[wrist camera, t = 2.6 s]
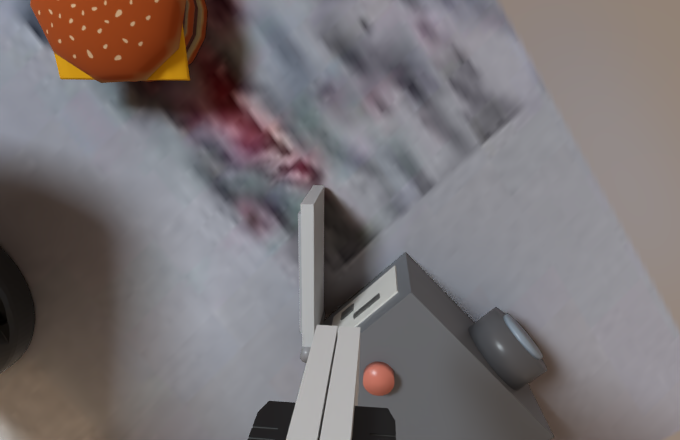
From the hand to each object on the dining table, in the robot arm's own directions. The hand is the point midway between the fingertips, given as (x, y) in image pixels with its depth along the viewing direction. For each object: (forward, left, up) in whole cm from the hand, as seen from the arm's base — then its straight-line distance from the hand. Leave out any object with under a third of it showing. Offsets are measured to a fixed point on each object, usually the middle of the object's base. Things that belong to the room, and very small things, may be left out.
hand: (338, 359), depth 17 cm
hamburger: (-21, -1, -19) cm, 28 cm away
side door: (0, -4, -18) cm, 19 cm away
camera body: (+11, -2, -18) cm, 22 cm away
